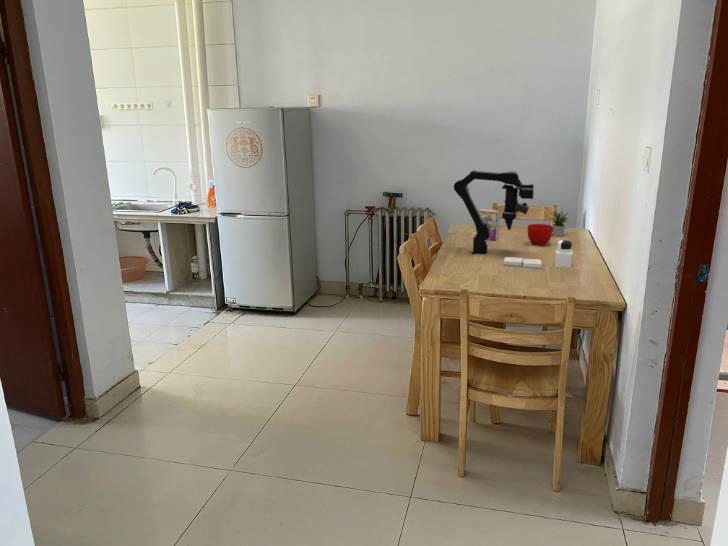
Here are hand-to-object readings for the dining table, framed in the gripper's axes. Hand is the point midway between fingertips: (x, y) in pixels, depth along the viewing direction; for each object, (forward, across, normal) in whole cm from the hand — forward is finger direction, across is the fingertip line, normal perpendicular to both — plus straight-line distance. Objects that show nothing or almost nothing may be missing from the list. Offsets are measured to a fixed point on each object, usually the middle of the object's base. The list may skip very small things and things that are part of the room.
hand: (509, 229), depth 281 cm
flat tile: (+12, -19, -12) cm, 26 cm away
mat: (+13, -16, -8) cm, 22 cm away
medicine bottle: (+13, -14, -26) cm, 32 cm away
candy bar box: (+13, +34, +14) cm, 39 cm away
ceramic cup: (+13, +30, -15) cm, 36 cm away
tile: (+11, -14, -4) cm, 19 cm away
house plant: (+13, +54, -22) cm, 60 cm away
